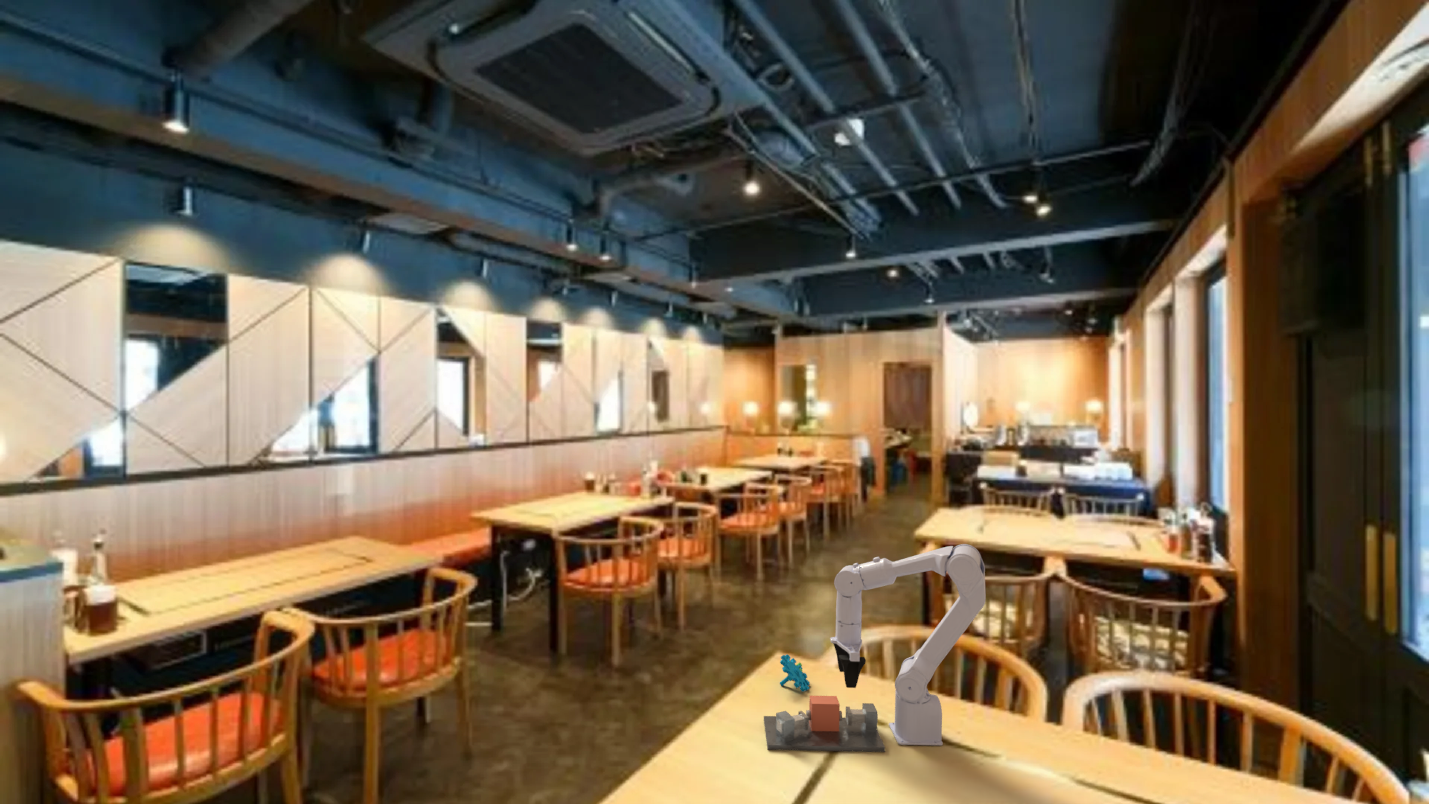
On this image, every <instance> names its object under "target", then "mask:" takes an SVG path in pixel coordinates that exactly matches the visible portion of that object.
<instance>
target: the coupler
mask: <svg viewBox="0 0 1429 804" xmlns="http://www.w3.org/2000/svg"><path fill="white" fill-rule="evenodd" d="M808 702H809V705H808V709H807V710H806V711H805V712H806V713H805V714H806V715H807V716H808V717H809V724H810V727H811V731H839V721H842V718H843V714H842V710H840V709H841V708H840V706H841V705H840V702H839V699H838V697H837V695H809V701H808Z"/></svg>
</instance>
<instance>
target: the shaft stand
mask: <svg viewBox="0 0 1429 804" xmlns="http://www.w3.org/2000/svg"><path fill="white" fill-rule="evenodd" d="M878 716H879V715H878V710H877V708H876V706H875V704H874V703H872V702H871V703H866V702H864V703H862V709H860V708H859V709H858V708H857V709H856V708H854V709H853V708H851V707H850V706H845V717H842V721H839V731H811V727H810V724H809V717H808V716H807V715H806V713H805V712H803V711H802V710H800V711H798V713H797V714H795V715H791V714H790V713H789V712H788V711H787V710H783V711H780V712H776V714H775V715H763V725H764V733H765V738H766V740H765V741H766V747H767V750H768V751H803V752H805V751H807V752H809V751H810V752H811V751H812V752H813V751H814V752H853V753H854V752H858V753H859V752H860V753H862V752H865V753H886V746H885V744H884V742H883V740H882V737H881V735H880V733H879V731H878V723H879V722H878Z"/></svg>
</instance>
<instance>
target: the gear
mask: <svg viewBox="0 0 1429 804" xmlns="http://www.w3.org/2000/svg"><path fill="white" fill-rule="evenodd" d="M780 659H781V660H780V661H779V664H780V665H782V669H781V670H782V672H783V673H786V674H787V676H786V677H784V678H783V679H782V680H781V681H780V682H779V685H780V686H781V687H783V686H784V685H785V684H787V683H788V682H791V681H794V683H793V686H794V688H796V689H798V688H799V690H800V691H801V692H802V693H803V692H806V691H808V690H810V684H811V682H810V681H809V680H808V674H807V673H806V672H804V671H803V664H802V663H801V662H798V663H797V660H796V659H795V658H794V657H792V658H791V656H790V655H789V654H783V655H781V656H780ZM796 663H797V664H796Z"/></svg>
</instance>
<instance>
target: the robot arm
mask: <svg viewBox="0 0 1429 804" xmlns="http://www.w3.org/2000/svg"><path fill="white" fill-rule="evenodd" d="M929 571H932V572H935V573H937V574H939V575H941V576H942V577H946V575H947V574H948V576H949V577H950V579H951V580H952V582H953V583H954V584H955V586H956V589H957V592H958V595H959V596H958V597H957V599H956V600H955V602H954V603H953V604H952V605H951V607H950V608H949V610H948V611H947V612H946V613H945V615H944V616H943V618H942V619H941V621H940V622H939V623H938V624H937V625H936V627H935V629H933V631H932V632H931V633H930V635H929V636H928V638H927V639H926V640H925V642H924V643H923V644H922V646H921V647H920V648H919V649H918V650H916V652H915V653H914V654H913V655H912V656H910V657H907V658H905V659H904V660H903V661H902V663H901V666H900V669H899V673H898V675H897V677H896V678H895V681H894V689H895V691H894V692H895V694H894V696H895V700H894V705H895V706H894V722H889V723H888V727H889V728H890V731H891V732H892V735H893V736H894V738H895V740H896V742H897V744H898V745H903V746H904V745H905V746H907V745H909V746H943V741H942V738H943V737H942V735H943V734H942V733H943V732H942V731H943V710H942V704H941V701H940V698H939V697H938V695H937V694H930V692H929V690H928V684H929V682H930V681H931V679H932V678H933V676H934V674H935V672H936V670H937V669H938V667H939V665H940V664H941V663H942V661H943V660H944V659H945V658H946V656H947V655H948V654H949V652H950V651H951V650H952V649H953V647H954V646H955V645H956V643H957V642H958V641H959V639H960V638H961V637H962V635H963V634H964V633H965V631H966V630H967V629H968V627H970V624H971V623H972V622H973V621H974V619H975V618H976V617H977V616H978V614H979V613H980V612H981V610H982V609H983V608H984V606H985V604H986V597H987V596H986V573H985V572H986V566H985V563H984V561H983V558H982V555H981V552H980V551H979V550H978V549H977V548H976V547H975V546H973V545H970V544H967V543H962V544H958V545H956V546H953V545H950V546H945V547H940V548H936V549H933V550H929V551H925V552H923V553H919V554H915V555H913V556H908V557H906V558H902V559H898V560H895V561H892V560H890V559H888V558H886V557H883V558H880V556H876V557H873V558H872V560H871V561H867V562H864V563H860V564H859V562H855V563H853V564H852V565H845V566H844V567H842V569H841V570H840V571H839V572H838V573H837V574H836V575H835V577H834V581H833V584H834V587H835V591H836V600H835V601H836V602H835V603H836V604H835V605H836V606H835V636H831V637H829V641H830V643H831V644H832V645H833V646H834V650H835V654H836V660H837V665H838V670H839V672H840V673H843V678H844V683H845V688H848V689H856V688H857V685H858V683H859V682H858V681H859V677H860V674H861V671H862V669H863V667H864V666H865V664H866V661H867V659H866V657H865V656H860V654H861V653H860V650H861V648H862V646H863V639H862V619H863V618H862V616H863V610H862V609H863V600H862V593H863V591H868V590H872V589H877V588H881V587H884V586H885V587H886V586H890V585H893V584H894V583H895V581H896V579H897V577H904V576H908V575H914V574H919V573H924V572H929Z"/></svg>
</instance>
